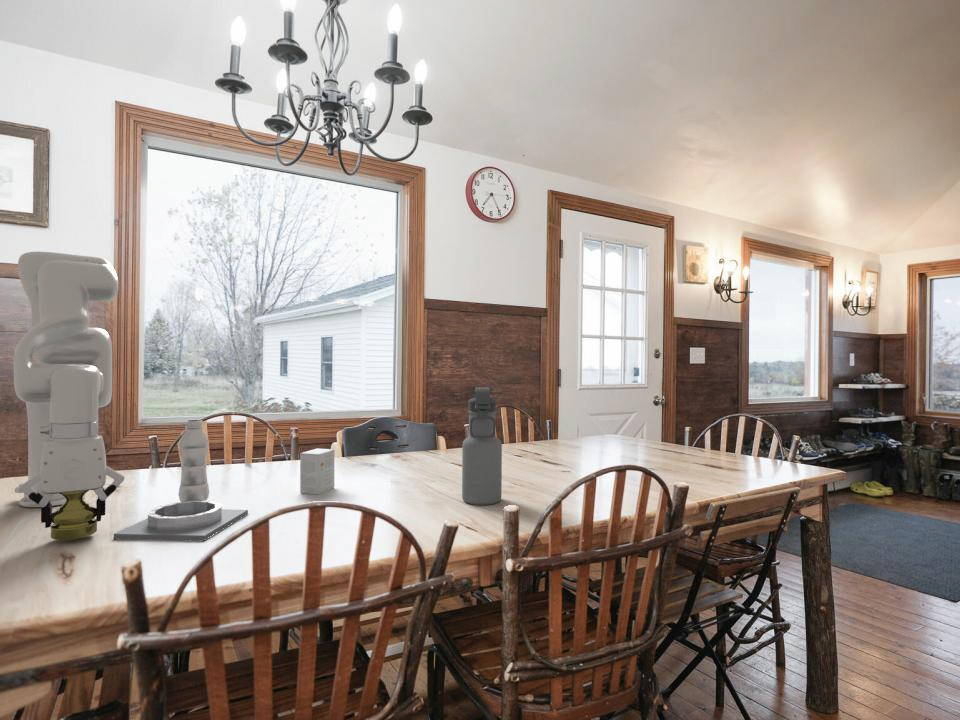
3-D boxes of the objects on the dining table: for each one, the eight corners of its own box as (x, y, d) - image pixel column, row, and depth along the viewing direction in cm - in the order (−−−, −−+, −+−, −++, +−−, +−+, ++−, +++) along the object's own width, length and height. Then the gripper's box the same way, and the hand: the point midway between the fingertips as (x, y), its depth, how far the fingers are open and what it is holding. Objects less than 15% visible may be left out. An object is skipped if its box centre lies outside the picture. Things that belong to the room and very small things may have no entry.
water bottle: (502, 506, 132) (503, 389, 132) (461, 506, 132) (462, 388, 132) (500, 495, 142) (501, 386, 142) (462, 495, 142) (462, 386, 142)
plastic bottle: (196, 508, 129) (197, 422, 129) (171, 506, 130) (171, 421, 130) (215, 501, 135) (215, 419, 135) (191, 499, 137) (191, 418, 137)
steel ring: (133, 530, 109) (133, 517, 109) (173, 511, 122) (173, 500, 122) (199, 531, 108) (199, 518, 108) (232, 512, 122) (232, 501, 122)
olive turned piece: (102, 526, 111) (102, 477, 111) (91, 538, 104) (91, 486, 104) (58, 530, 109) (58, 479, 109) (43, 543, 102) (44, 489, 102)
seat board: (113, 539, 107) (113, 533, 107) (169, 512, 125) (169, 508, 125) (204, 540, 106) (204, 535, 106) (247, 514, 124) (247, 509, 124)
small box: (316, 486, 151) (317, 448, 151) (334, 487, 150) (335, 449, 150) (299, 493, 144) (299, 452, 144) (318, 494, 142) (318, 453, 142)
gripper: (12, 437, 98) (12, 535, 99) (128, 430, 108) (127, 521, 108) (19, 431, 105) (19, 524, 105) (128, 426, 114) (127, 511, 114)
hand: (74, 522), depth 107 cm, fingers closed on olive turned piece, 7 cm apart
